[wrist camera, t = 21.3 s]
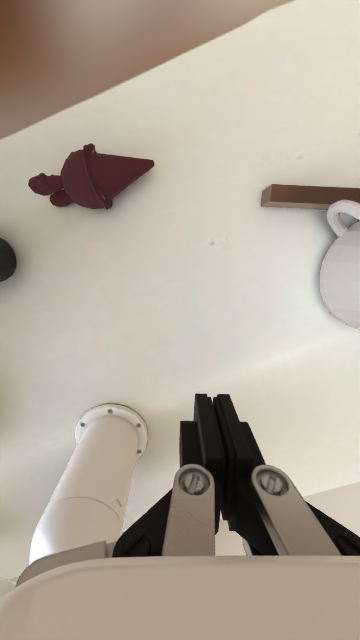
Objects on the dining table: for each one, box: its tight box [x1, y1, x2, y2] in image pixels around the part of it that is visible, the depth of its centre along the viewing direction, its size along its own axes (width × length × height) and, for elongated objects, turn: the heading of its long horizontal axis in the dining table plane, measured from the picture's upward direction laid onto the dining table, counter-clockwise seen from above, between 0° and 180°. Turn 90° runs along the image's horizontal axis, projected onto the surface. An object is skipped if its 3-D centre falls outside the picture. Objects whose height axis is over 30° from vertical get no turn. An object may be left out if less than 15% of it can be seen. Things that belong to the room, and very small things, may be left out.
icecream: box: [28, 144, 154, 210], centre depth 30 cm, size 7×7×15 cm
